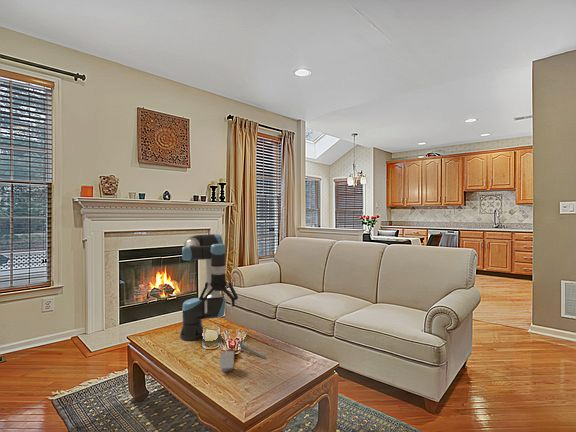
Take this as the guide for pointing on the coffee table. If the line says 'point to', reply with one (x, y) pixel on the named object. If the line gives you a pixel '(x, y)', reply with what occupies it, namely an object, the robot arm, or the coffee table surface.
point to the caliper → (251, 350)
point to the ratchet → (227, 370)
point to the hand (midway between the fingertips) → (218, 312)
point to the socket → (227, 359)
